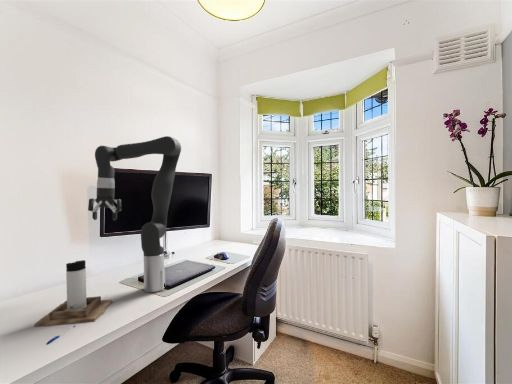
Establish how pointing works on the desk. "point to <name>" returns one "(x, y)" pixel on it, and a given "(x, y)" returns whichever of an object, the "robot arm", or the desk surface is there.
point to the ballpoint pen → (59, 335)
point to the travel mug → (76, 285)
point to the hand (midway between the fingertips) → (104, 219)
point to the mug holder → (75, 313)
